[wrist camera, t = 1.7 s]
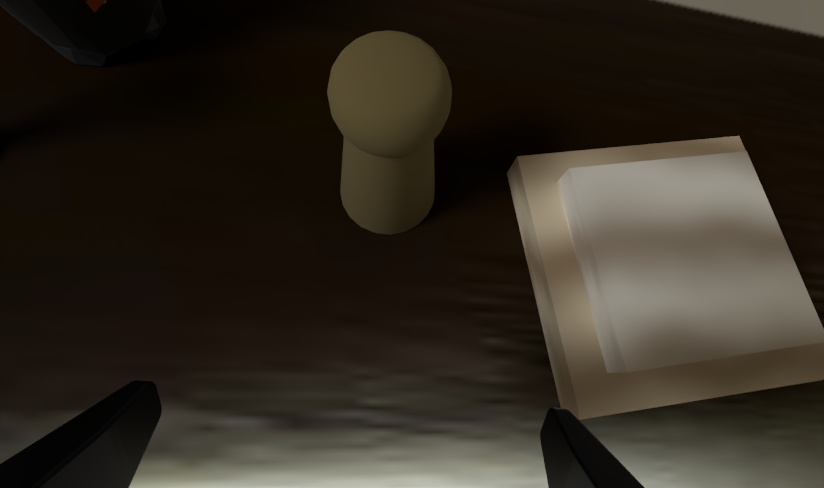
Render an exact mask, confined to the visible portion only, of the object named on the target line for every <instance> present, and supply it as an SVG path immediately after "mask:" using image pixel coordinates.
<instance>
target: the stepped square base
mask: <svg viewBox="0 0 824 488" xmlns="http://www.w3.org/2000/svg"><path fill="white" fill-rule="evenodd" d="M507 176H508V181H509V185H510V189H511V194H512V198H513V202H514V207H515V211H516V215H517V220H518V224H519V228H520V233H521V237H522V241H523V246H524V250H525V254H526V259H527V263H528V268H529V272H530V276H531V281H532V285H533V289H534V294H535V298H536V302H537V307H538V311H539V315H540V320H541V324H542V328H543V333H544V337H545V341H546V346H547V350H548V355H549V359H550V363H551V368H552V372H553V376H554V381H555V385H556V389H557V394H558V398H559V402H560V407H561V408H566V409H568V410H569V411H571V412H572V413H573V414H574V415H575V417H576V418H577V419H580V420H582V419H588V418H594V417H600V416H606V415H612V414H618V413H624V412H631V411H637V410H643V409H649V408H655V407H661V406H667V405H673V404H679V403H685V402H691V401H697V400H704V399H710V398H716V397H722V396H728V395H734V394H740V393H746V392H752V391H758V390H764V389H770V388H777V387H783V386H789V385H795V384H801V383H807V382H813V381H819V380H824V329H823V327H822V324H821V322H820V320H819V317H818V315H817V313H816V310H815V308H814V306H813V303H812V301H811V299H810V296H809V294H808V292H807V290H806V287H805V285H804V283H803V280H802V278H801V276H800V273H799V271H798V269H797V266H796V264H795V262H794V259H793V257H792V255H791V253H790V250H789V248H788V246H787V243H786V241H785V239H784V236H783V234H782V232H781V229H780V227H779V225H778V222H777V220H776V218H775V216H774V213H773V211H772V209H771V206H770V204H769V202H768V199H767V197H766V195H765V192H764V190H763V188H762V186H761V183H760V181H759V179H758V176H757V174H756V172H755V169H754V167H753V165H752V162H751V160H750V158H749V155H748V153H747V151H745V148H744V146H743V144H742V141H741V139H740V137H739V136H733V137H722V138H711V139H700V140H689V141H678V142H668V143H657V144H646V145H635V146H624V147H613V148H602V149H591V150H580V151H569V152H558V153H547V154H537V155H526V156H517V157H516V159H515V161H514V162H513V164H512V166H511V167H510V169H509V170H508V172H507Z"/></svg>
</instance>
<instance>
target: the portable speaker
mask: <svg viewBox="0 0 824 488" xmlns="http://www.w3.org/2000/svg"><path fill="white" fill-rule="evenodd" d="M0 6H1V7H2V8H4V9H5V10H6V11H7V12H9V13H10V14H11V15H12V16H13V17H15V18H16V19H17V20H18V21H20V22H21V23H22V24H23V25H24V26H26V27H27V28H28V29H29V30H31V31H32V32H33V33H34V34H36V35H37V36H39V37H41V38H42V39H43V40H45V41H46V42H47V43H48V44H49V45H51V46H52V47H53V48H54V49H55V50H57V51H58V52H59V53H60V54H62V55H63V56H65V57H66V58H68V59H69V60H71V61H72V62H74V63H75V64H80V65H92V66H103V65H104V64H105V63H106V62H107V60H106V57H107V56H109V55H112V54H114V53H116V52H118V51H120V50H122V49H124V48H126V47H128V46H130V45H132V44H134V43H136V42H138V41H140V40H142V39H144V38H147V39H149V40H152V39H157V38H158V36H159V34H160V32H161V30H162V29H163V27H164V25H165V23H166V18H165V14H164V11H163V7H162V4H161V1H160V0H0Z"/></svg>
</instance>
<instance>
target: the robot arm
mask: <svg viewBox="0 0 824 488" xmlns="http://www.w3.org/2000/svg"><path fill="white" fill-rule="evenodd" d="M161 411H162V407H161V403H160V399H159V395H158V391H157V388H156V385H155V384H154V383H153V382H151V381H133V382H131V383H129V384H127V385H126V386H124V387H122V388H121V389H119V390H118V391H116V392H114V393H113V394H111V395H110V396H108V397H106V398H105V399H103V400H102V401H100V402H98V403H97V404H95V405H94V406H92V407H91V408H89V409H87V410H86V411H84V412H83V413H81V414H79V415H78V416H76V417H75V418H73V419H71V420H70V421H68V422H67V423H65V424H63V425H62V426H60V427H59V428H57V429H55V430H54V431H52V432H51V433H49V434H47V435H46V436H44V437H43V438H41V439H40V440H38V441H36V442H35V443H33V444H32V445H30V446H28V447H27V448H25V449H24V450H22V451H20V452H19V453H17V454H16V455H14V456H12V457H11V458H9V459H8V460H6V461H4V462H3V463H1V464H0V488H129V486H130V483H131V481H132V479H133V477H134V475H135V473H136V471H137V468H138V466H139V464H140V462H141V459H142V457H143V455H144V453H145V450H146V448H147V446H148V444H149V441H150V439H151V437H152V435H153V432H154V430H155V428H156V426H157V423H158V421H159V419H160V416H161ZM540 439H541V446H542V452H543V457H544V463H545V469H546V474H547V480H548V486H549V488H644V487H643V486H642V485H641V484H640V483H639V482H638V481H637V480H636V479H635V477H634V476H633V475H632V474H631V473H630V472H629V471H628V470H627V469H626V468H625V467H624V466H623V465H622V464H621V463H620V462H619V461H618V460H617V459H616V458H615V457H614V456H613V455H612V454H611V453H610V452H609V451H608V450H607V449H606V448H605V446H604V445H603V444H602V443H601V442H600V441H599V440H598V439H597V438H596V437H595V436H594V435H593V434H592V433H591V432H590V431H589V430H588V429H587V428H586V427H585V426H584V425H583V424H582V423H581V422H580V421H579V420H578V419H577V418H576V417H575V415H574V414H573V413H572V412H571V411H569V410H568V409H566V408H550V409H549V410H548V412H547V415H546V418H545V420H544V423H543V426H542V429H541V434H540Z"/></svg>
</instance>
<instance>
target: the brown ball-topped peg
mask: <svg viewBox="0 0 824 488" xmlns="http://www.w3.org/2000/svg"><path fill="white" fill-rule="evenodd" d="M327 94H328V99H329V104H330V109H331V114H332V118H333V119H334V121H335V123H336V124H337V126H338V128H339V129H340V131H341V132H342V134H343V135H344V144H343V159H342V174H341V189H340V192H341V198H342V203H343V206H344V208H345V209H346V211H347V213H348V215H349V216H350V218H351V219H353V220H354V221H355V222H356V223H357V224H358V225H359V226H361V227H362V228H365V229H367V230H369V231H372V232H374V233H380V234H389V235H391V234H396V233H401V232H406V231H408V230H409V229H411V228H413V227H415V226H417V225H418V224H419V223H420V222H421V221H422V220H423V219H424V218H425V217H426V216H427V215H428V213H429V211H430V209H431V207H432V205H433V202H434V192H435V174H434V139H435V138H436V137H437V135H438V134H439V133H440V132H441V130H442V128H443V126H444V124H445V122H446V120H447V118H448V115H449V112H450V108H451V96H452V88H451V81H450V78H449V74H448V71H447V68H446V66H445V64H444V63H443V62H442V60H441V59H440V57H439V56H438V55H437V53H436V52H435V50H434V49H433V48H432V47H431V46H429V45H428V44H427V43H425V42H424V41H423V40H421V39H420V38H417V37H415V36H412V35H410V34H407V33H404V32H397V31H389V30H388V31H379V32H372V33H369V34H367V35H364V36H362V37H359V38H357V39H356V40H354V41H353V42H352V43H351V44H349V45H348V46H347V47H346V48H345V49H344V50H343V51H342V52H341V53H340V55H339V57H338V58H337V60H336V61H335V63H334V65H333V66H332V69H331V74H330V79H329V84H328V90H327Z"/></svg>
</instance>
